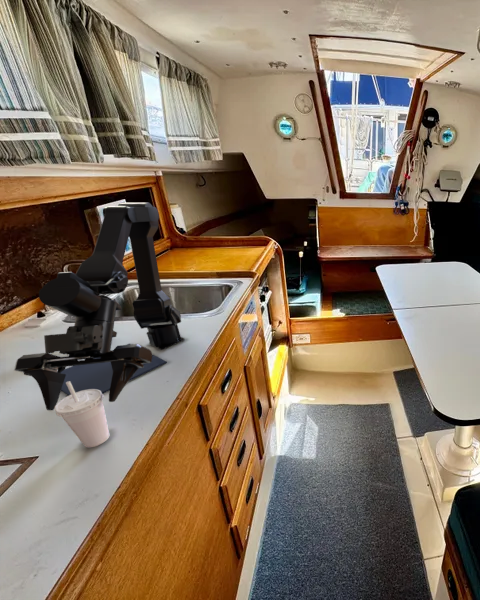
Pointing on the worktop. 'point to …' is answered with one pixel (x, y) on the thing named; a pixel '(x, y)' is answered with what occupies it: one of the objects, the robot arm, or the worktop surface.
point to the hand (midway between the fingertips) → (81, 405)
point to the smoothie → (85, 415)
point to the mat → (99, 375)
